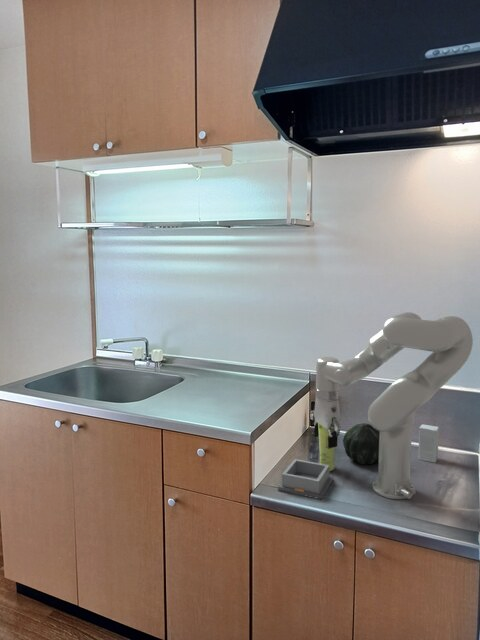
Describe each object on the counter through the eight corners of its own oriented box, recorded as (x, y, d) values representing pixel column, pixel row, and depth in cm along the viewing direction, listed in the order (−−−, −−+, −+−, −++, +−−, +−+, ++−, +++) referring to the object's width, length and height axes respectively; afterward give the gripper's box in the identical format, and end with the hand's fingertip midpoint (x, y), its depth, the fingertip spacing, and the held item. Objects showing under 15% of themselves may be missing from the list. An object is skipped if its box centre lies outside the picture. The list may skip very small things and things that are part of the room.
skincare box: (438, 458, 178) (439, 426, 176) (435, 463, 175) (437, 430, 173) (420, 455, 181) (421, 423, 179) (417, 459, 178) (418, 427, 176)
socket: (333, 479, 164) (333, 464, 163) (320, 499, 152) (321, 483, 151) (292, 471, 170) (292, 457, 169) (278, 490, 158) (277, 474, 157)
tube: (319, 471, 170) (320, 417, 166) (316, 465, 175) (317, 412, 171) (336, 471, 170) (336, 416, 167) (332, 464, 175) (333, 411, 172)
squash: (362, 432, 190) (348, 410, 181) (398, 444, 179) (385, 422, 170) (345, 463, 184) (329, 443, 176) (380, 478, 174) (366, 457, 165)
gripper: (350, 400, 161) (348, 450, 164) (324, 385, 177) (322, 430, 180) (330, 403, 159) (328, 453, 162) (305, 387, 175) (304, 433, 178)
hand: (325, 441), depth 171 cm, fingers open, 9 cm apart
